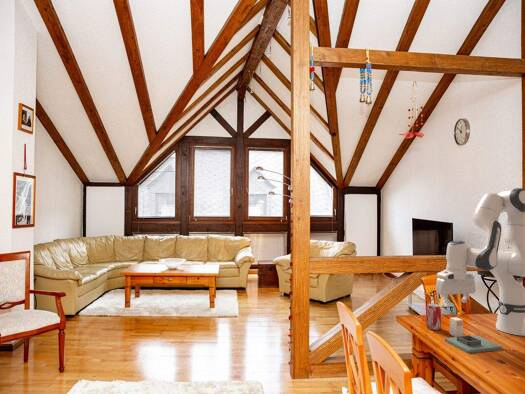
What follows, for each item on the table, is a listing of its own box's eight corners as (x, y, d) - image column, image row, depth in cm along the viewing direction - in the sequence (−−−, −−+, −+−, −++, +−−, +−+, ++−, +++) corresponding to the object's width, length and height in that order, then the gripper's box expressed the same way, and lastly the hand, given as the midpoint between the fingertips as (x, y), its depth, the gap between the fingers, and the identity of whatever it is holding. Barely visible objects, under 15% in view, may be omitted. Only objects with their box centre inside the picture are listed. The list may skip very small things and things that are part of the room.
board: (476, 337, 176) (476, 331, 176) (502, 349, 162) (502, 342, 162) (444, 340, 172) (444, 334, 172) (468, 353, 158) (468, 345, 158)
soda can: (442, 331, 185) (442, 307, 185) (427, 330, 186) (427, 306, 186) (439, 326, 192) (439, 303, 192) (424, 325, 193) (424, 302, 193)
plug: (456, 333, 182) (456, 317, 182) (463, 336, 177) (463, 320, 177) (449, 334, 181) (449, 317, 181) (456, 337, 176) (456, 320, 176)
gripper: (468, 272, 185) (468, 300, 185) (434, 273, 180) (433, 301, 180) (479, 275, 179) (478, 303, 179) (443, 276, 174) (442, 305, 174)
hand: (455, 302), depth 179 cm, fingers open, 8 cm apart
